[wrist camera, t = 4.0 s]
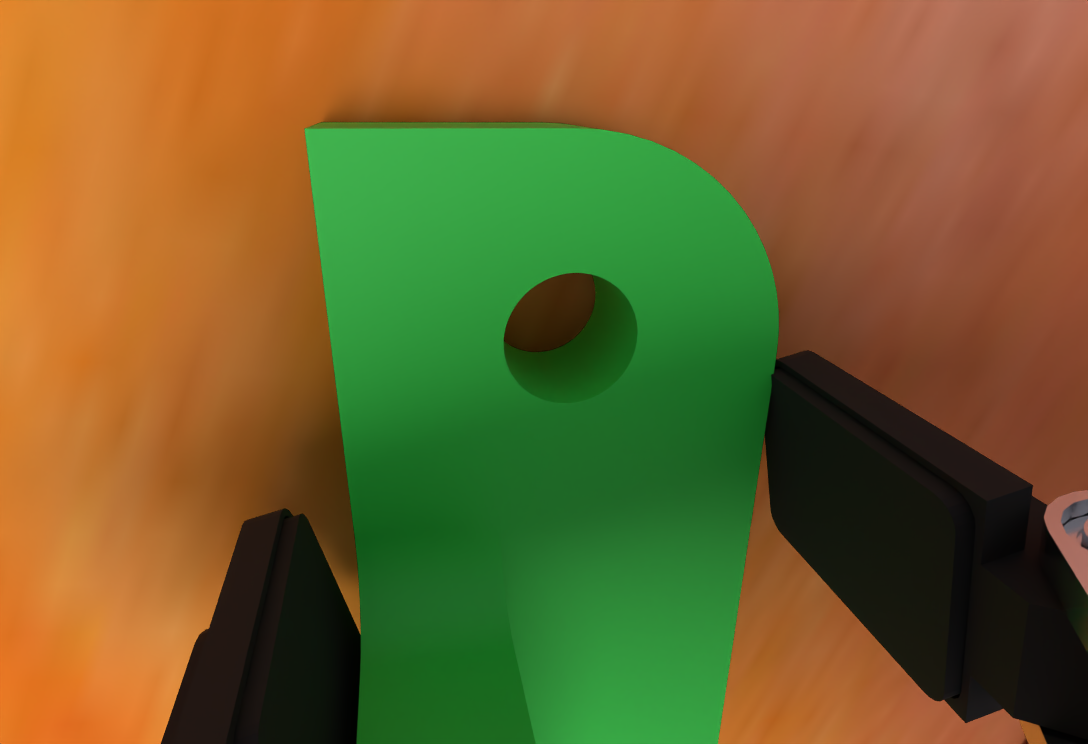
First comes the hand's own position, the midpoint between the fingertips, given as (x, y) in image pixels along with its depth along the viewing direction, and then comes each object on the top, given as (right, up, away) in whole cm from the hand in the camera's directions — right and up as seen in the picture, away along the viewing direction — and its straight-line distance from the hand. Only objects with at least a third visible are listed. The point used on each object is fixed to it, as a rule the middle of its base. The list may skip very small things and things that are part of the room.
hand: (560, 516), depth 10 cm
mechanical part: (0, 0, +2) cm, 2 cm away
